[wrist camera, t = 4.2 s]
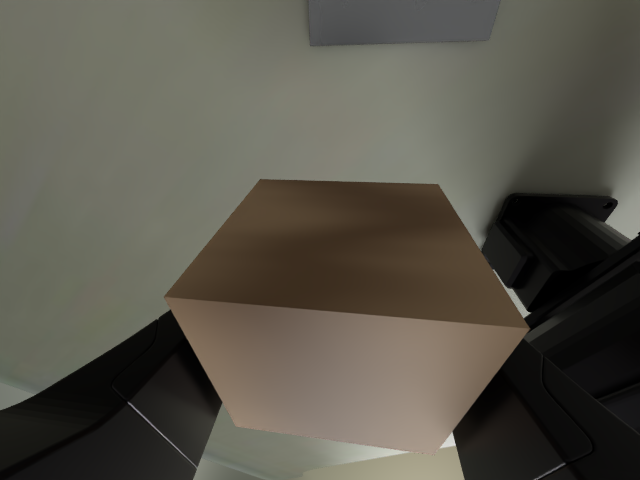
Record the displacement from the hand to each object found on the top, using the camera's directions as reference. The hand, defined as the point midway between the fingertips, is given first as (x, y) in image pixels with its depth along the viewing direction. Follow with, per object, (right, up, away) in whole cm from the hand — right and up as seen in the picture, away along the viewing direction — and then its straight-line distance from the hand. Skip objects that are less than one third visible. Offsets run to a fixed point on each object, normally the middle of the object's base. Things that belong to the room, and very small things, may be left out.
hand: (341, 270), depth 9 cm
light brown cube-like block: (0, +1, +1) cm, 1 cm away
